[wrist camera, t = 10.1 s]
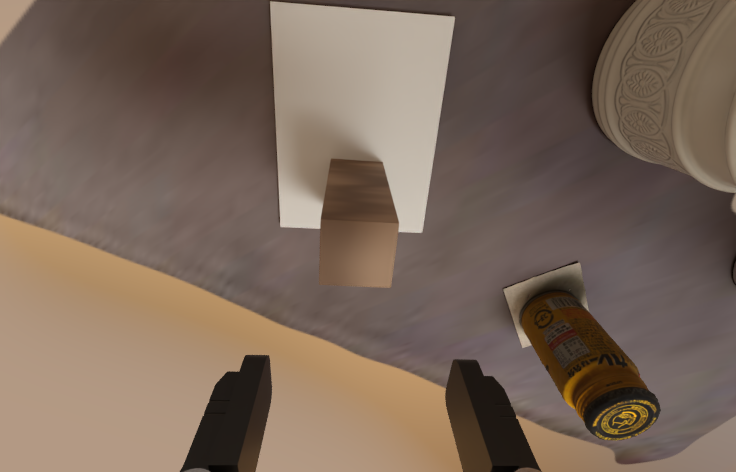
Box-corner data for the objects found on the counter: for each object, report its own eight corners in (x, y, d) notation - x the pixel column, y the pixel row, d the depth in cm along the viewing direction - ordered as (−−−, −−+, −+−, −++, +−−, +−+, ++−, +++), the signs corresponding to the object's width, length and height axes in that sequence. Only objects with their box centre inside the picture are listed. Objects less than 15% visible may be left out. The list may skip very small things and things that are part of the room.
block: (382, 162, 28) (399, 223, 19) (377, 209, 30) (390, 287, 21) (330, 158, 28) (320, 219, 18) (329, 206, 30) (318, 284, 20)
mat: (452, 17, 25) (455, 16, 24) (421, 229, 32) (422, 232, 32) (271, 2, 24) (269, 1, 23) (281, 223, 31) (280, 227, 31)
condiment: (521, 346, 39) (585, 459, 29) (502, 288, 36) (566, 392, 25) (590, 323, 38) (683, 431, 27) (577, 260, 34) (679, 357, 24)
